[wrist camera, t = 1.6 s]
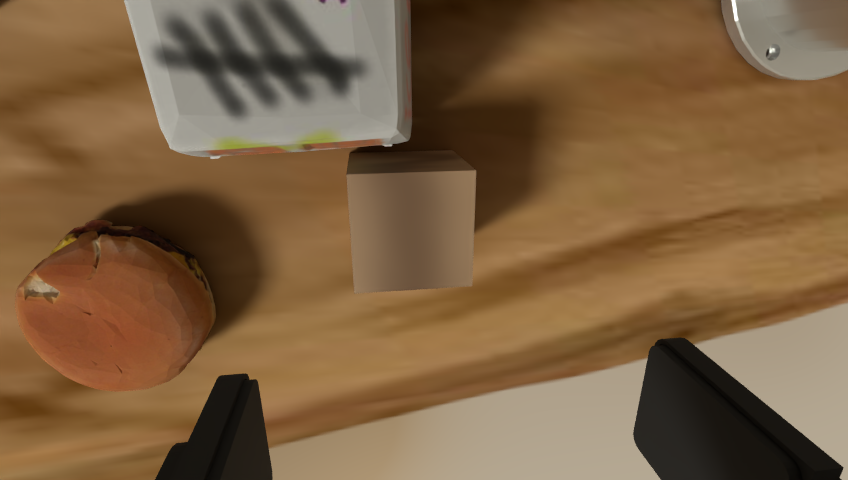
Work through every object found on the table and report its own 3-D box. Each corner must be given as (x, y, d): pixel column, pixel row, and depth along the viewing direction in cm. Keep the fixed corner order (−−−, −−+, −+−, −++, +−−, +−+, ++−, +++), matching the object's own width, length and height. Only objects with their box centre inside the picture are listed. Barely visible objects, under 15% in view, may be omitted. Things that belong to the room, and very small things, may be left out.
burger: (196, 378, 30) (168, 430, 26) (40, 333, 28) (-21, 382, 23) (245, 249, 27) (223, 282, 23) (77, 188, 25) (17, 212, 21)
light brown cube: (452, 149, 27) (476, 170, 21) (450, 244, 29) (472, 285, 23) (349, 152, 26) (346, 174, 21) (355, 249, 28) (354, 293, 23)
